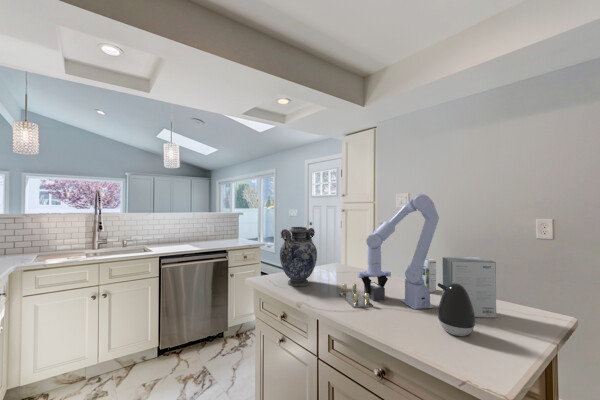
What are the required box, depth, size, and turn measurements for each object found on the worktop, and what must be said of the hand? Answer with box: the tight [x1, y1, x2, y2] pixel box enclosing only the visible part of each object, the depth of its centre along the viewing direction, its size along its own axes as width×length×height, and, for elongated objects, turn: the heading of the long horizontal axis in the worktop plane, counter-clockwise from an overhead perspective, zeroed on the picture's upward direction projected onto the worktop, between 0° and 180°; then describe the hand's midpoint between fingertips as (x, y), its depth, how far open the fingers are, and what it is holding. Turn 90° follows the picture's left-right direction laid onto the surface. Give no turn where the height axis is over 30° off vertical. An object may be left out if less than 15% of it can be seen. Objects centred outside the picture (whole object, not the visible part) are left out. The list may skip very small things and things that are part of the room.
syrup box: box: [422, 257, 437, 293], centre depth 126 cm, size 6×6×14 cm
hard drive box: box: [442, 256, 498, 319], centre depth 100 cm, size 16×8×20 cm, turn 84°
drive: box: [363, 281, 386, 302], centre depth 116 cm, size 9×5×5 cm, turn 11°
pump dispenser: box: [437, 282, 476, 337], centre depth 85 cm, size 10×10×15 cm
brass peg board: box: [339, 283, 374, 309], centre depth 112 cm, size 16×8×5 cm, turn 11°
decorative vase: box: [279, 226, 318, 287], centre depth 135 cm, size 21×19×28 cm
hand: (374, 293), depth 116 cm, fingers closed on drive, 5 cm apart
